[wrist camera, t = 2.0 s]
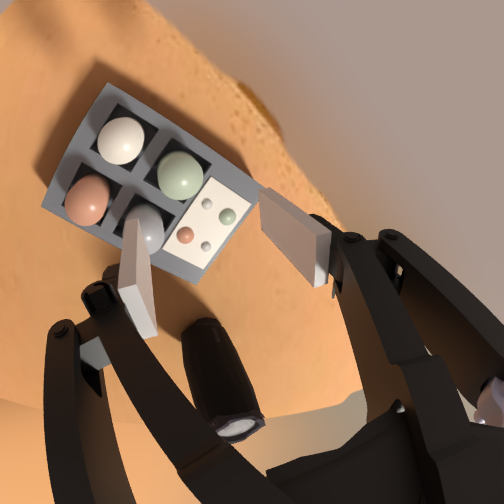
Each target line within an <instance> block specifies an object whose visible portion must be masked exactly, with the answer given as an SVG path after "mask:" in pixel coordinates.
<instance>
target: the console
mask: <svg viewBox="0 0 504 504" xmlns="http://www.w3.org/2000/svg"><path fill="white" fill-rule="evenodd" d="M122 117H131V118H134V119H136V120H137V121H139V122H140V124H141V125H142V127H143V129H144V134H145V137H144V142H143V146H142V149H141V151H140V153H139V154H138V155H137V157H136V158H134V159H133V160H132V161H130V162H128V163H125V164H120V165H118V164H112V163H109V162H108V161H106V160H105V159H104V158H103V157H102V156H101V154H100V152H99V150H98V137H99V134H100V132H101V130H102V128H103V127H104V126H105V125H106V124H107V123H108V122H110V121H112V120H114V119H117V118H122ZM172 150H183V151H186V152H187V153H189V154H190V155H191V156H192V157H193V158H194V159H195V160H196V161H197V162H198V163H199V165H200V166H201V168H202V171H203V183H202V186H201V188H200V189H199V191H198V192H197V193H196V194H195V195H194V196H192V197H190V198H188V199H185V200H174V199H171V198H169V197H167V196H166V195H165V194H164V193H163V192H162V191H161V189H160V187H159V183H158V175H157V166H158V163H159V161H160V159H161V158H162V156H163V155H165V154H166V153H168V152H170V151H172ZM88 173H98V174H101V175H102V176H104V177H105V178H106V179H107V180H108V182H109V184H110V187H111V196H110V199H109V202H108V204H107V207H106V209H105V212H104V214H103V216H102V218H101V219H100V220H99V221H98V222H97V223H95V224H93V225H90V226H81V225H78V224H76V223H74V222H73V221H72V220H71V219H70V218H69V217H68V215H67V213H66V210H65V198H66V195H67V193H68V192H69V190H70V189H71V188H72V187H73V186H74V185H75V184H76V183H77V181H78V180H79V179H80V178H81V177H82V176H84V175H86V174H88ZM259 189H264V187H263V186H262V185H260V184H259V183H258V182H256V181H255V180H254V179H252V178H251V177H250V176H248V175H247V174H246V173H244V172H243V171H242V170H240V169H239V168H237V167H236V166H235V165H233V164H232V163H231V162H229V161H228V160H226V159H225V158H224V157H222V156H221V155H219V154H218V153H217V152H215V151H214V150H212V149H211V148H209V147H208V146H207V145H205V144H204V143H202V142H201V141H199V140H198V139H196V138H195V137H193V136H192V135H191V134H189V133H188V132H186V131H185V130H183V129H182V128H180V127H179V126H177V125H176V124H174V123H173V122H171V121H170V120H168V119H166V118H165V117H163V116H162V115H160V114H159V113H157V112H156V111H154V110H153V109H151V108H149V107H148V106H146V105H145V104H143V103H141V102H140V101H138V100H137V99H135V98H133V97H132V96H130V95H128V94H127V93H125V92H123V91H122V90H120V89H118V88H117V87H115V86H113V85H112V84H110V83H107V84H106V86H105V87H104V88H103V90H102V91H101V93H100V94H99V96H98V97H97V99H96V100H95V102H94V103H93V105H92V106H91V108H90V109H89V111H88V113H87V114H86V116H85V118H84V119H83V121H82V123H81V124H80V126H79V128H78V129H77V131H76V133H75V135H74V136H73V138H72V140H71V142H70V144H69V146H68V148H67V150H66V151H65V153H64V155H63V157H62V159H61V161H60V164H59V166H58V168H57V170H56V172H55V174H54V176H53V179H52V181H51V183H50V185H49V188H48V190H47V192H46V195H45V197H44V200H43V202H42V205H41V207H43V208H45V209H46V210H48V211H50V212H52V213H53V214H55V215H57V216H59V217H61V218H62V219H64V220H66V221H68V222H70V223H72V224H73V225H75V226H77V227H79V228H81V229H83V230H85V231H86V232H88V233H90V234H92V235H94V236H96V237H98V238H100V239H102V240H104V241H106V242H108V243H109V244H111V245H113V246H115V247H117V248H119V249H121V250H122V243H123V229H124V223H125V218H126V214H127V212H128V210H129V209H130V208H131V207H132V206H133V205H135V204H137V203H140V202H148V203H151V204H153V205H155V206H156V207H157V208H158V209H159V211H160V212H161V215H162V221H163V228H164V234H165V237H164V242H163V244H162V246H161V247H160V249H159V250H158V251H156V252H155V253H153V254H151V255H149V256H150V263H151V264H152V265H154V266H156V267H158V268H160V269H162V270H165V271H167V272H169V273H171V274H173V275H175V276H177V277H180V278H182V279H184V280H186V281H188V282H190V283H193V284H195V285H197V283H198V282H199V281H200V279H201V278H202V277H203V275H204V274H205V272H206V271H207V270H208V268H209V267H210V266H211V264H212V263H213V261H214V260H215V259H216V257H217V256H218V255H219V253H220V252H221V251H222V249H223V248H224V246H225V245H226V244H227V242H228V241H229V240H230V238H231V237H232V236H233V234H234V233H235V232H236V230H237V229H238V228H239V226H240V225H241V224H242V222H243V221H244V220H245V218H246V217H247V216H248V214H249V213H250V212H251V210H252V209H253V208H254V206H255V205H256V204H257V202H258V201H259V194H258V190H259Z"/></svg>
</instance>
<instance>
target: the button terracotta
mask: <svg viewBox="0 0 504 504" xmlns="http://www.w3.org/2000/svg"><path fill="white" fill-rule="evenodd" d="M110 196H111V187H110V184H109V182H108V180H107V179H106V178H105V177H104V176H102V175H101V174H98V173H88V174H86V175H84V176H82V177H81V178H80V179H79V180H78V181H77V183H76V184H75V185H74V186H73V187H72V188H71V189H70V190H69V192H68V193H67V195H66V198H65V210H66V213H67V215H68V217H69V218H70V219H71V220H72V221H73V222H74V223H76V224H78V225H81V226H90V225H93V224H95V223H97V222H98V221H99V220H100V219H101V218H102V216H103V214H104V212H105V209H106V207H107V204H108V202H109V199H110Z"/></svg>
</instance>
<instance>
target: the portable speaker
mask: <svg viewBox="0 0 504 504" xmlns="http://www.w3.org/2000/svg"><path fill="white" fill-rule="evenodd" d="M181 339H182V353H183V363H184V368H185V372H186V376H187V380H188V383H189V387H190V391H191V394H192V398H193V401H194V405H195V407H196V410H197V411H198V412H199V413H200V415H201V416H202V417H203V418H204V419H205V420H206V421H207V423H208V424H209V425H210V426H211V427H212V428H213V429H214V430H215V431H216V432H217V434H218V435H219V436H220V437H221V438H223V439H224V440H226V441H227V442H228V443H230V444H234V443H237V442H240V441H243V440H245V439H246V438H247V437H249V436H250V435H252V434H253V433H255V432H256V431H257V430H259V429H260V428H261V427H263V426H265V422H264V419H263V418H265V417H264V415H263V414H262V413H261V412H260V408H259V405H258V402H257V399H256V395H255V392H254V389H253V386H252V384H251V382H250V380H249V378H248V375H247V373H246V371H245V369H244V366H243V364H242V362H241V360H240V357H239V355H238V353H237V351H236V349H235V347H234V345H233V343H232V341H231V340H230V338H229V336H228V334H227V332H226V330H225V329H224V327H222V325H221V324H220V323H219V322H218V321H217V320H216V319H211V318H203V319H198V320H197V322H196V323H195V324H194V325H192V326H191V327H189V328H188V329H187V330H186V331H185V332H184V333H182V334H181Z"/></svg>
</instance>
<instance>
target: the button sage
mask: <svg viewBox="0 0 504 504" xmlns="http://www.w3.org/2000/svg"><path fill="white" fill-rule="evenodd" d="M157 175H158V183H159V187H160V189H161V191H162V192H163V193H164V194H165V195H166V196H167V197H169V198H171V199H174V200H185V199H188V198H190V197H192V196H194V195H195V194H196V193H197V192H198V191H199V189H200V188H201V186H202V183H203V171H202V168H201V166H200V165H199V163H198V162H197V161H196V160H195V159H194V158H193V157H192V156H191V155H190V154H189V153H187V152H186V151H183V150H172V151H170V152H168V153H166V154H165V155H163V156H162V158H161V159H160V161H159V163H158V166H157Z"/></svg>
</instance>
